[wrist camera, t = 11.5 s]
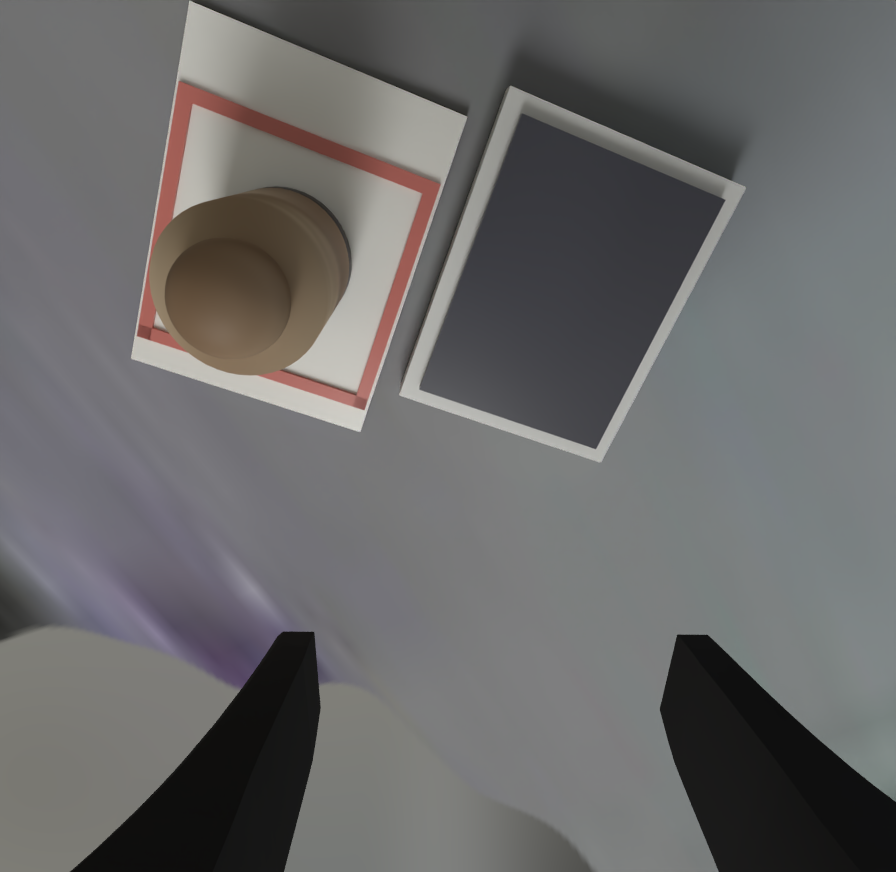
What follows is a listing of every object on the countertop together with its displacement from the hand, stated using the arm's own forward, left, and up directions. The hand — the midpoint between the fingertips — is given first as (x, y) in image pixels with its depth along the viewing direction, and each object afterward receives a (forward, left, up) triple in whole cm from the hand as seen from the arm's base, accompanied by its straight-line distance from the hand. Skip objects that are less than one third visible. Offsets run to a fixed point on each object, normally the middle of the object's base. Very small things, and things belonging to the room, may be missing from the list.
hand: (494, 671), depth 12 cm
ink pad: (0, -6, -10) cm, 12 cm away
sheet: (+8, -5, -10) cm, 13 cm away
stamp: (+8, -4, -10) cm, 13 cm away
